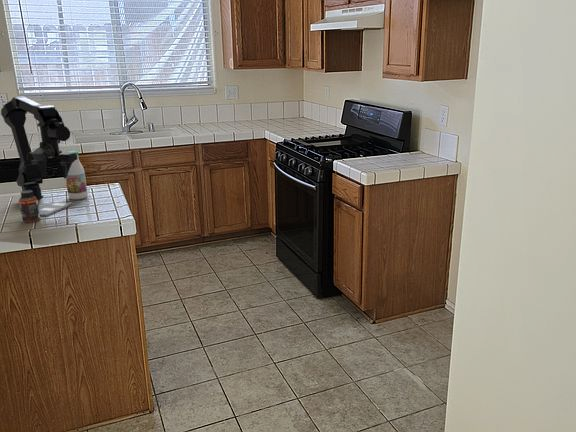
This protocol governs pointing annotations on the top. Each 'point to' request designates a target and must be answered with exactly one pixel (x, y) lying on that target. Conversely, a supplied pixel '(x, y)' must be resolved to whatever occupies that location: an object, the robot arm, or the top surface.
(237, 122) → the top surface
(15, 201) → the top surface
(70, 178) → the milk bottle
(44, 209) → the label panel
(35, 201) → the supplement bottle
